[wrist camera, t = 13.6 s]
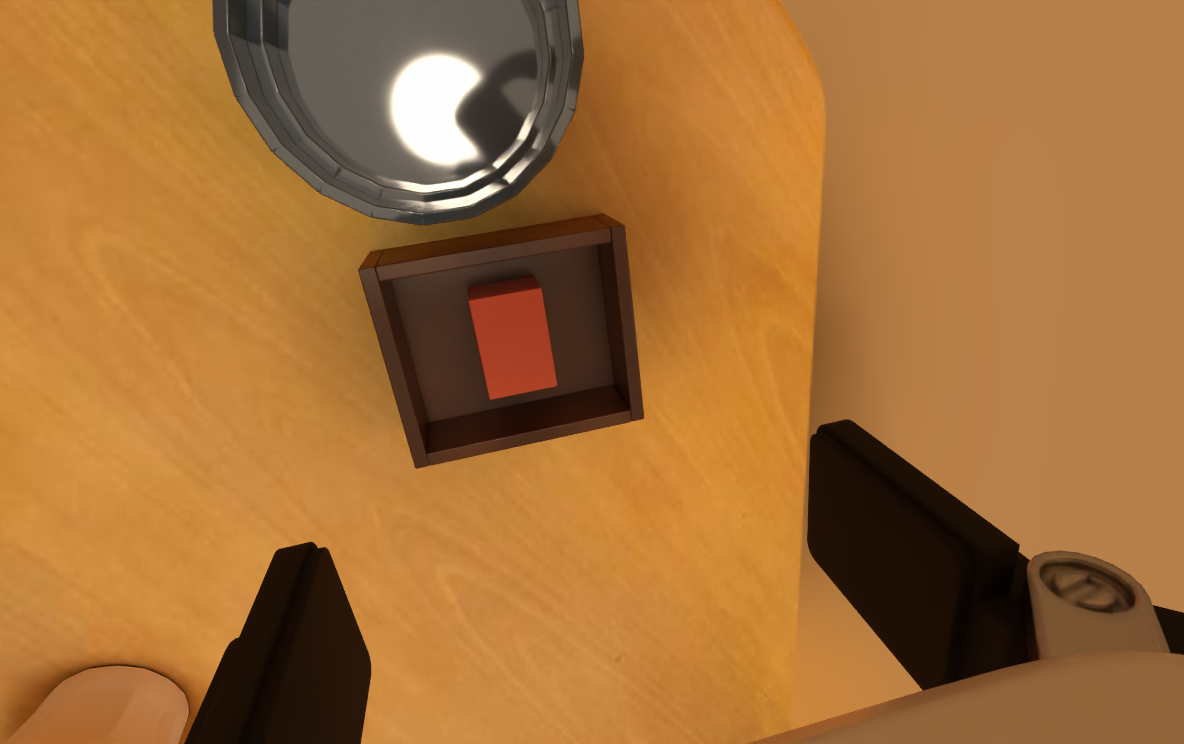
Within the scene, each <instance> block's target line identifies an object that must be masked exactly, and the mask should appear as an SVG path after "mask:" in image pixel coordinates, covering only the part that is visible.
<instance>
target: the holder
mask: <svg viewBox="0 0 1184 744" xmlns="http://www.w3.org/2000/svg"><path fill="white" fill-rule="evenodd" d="M358 271H359V275H360V278H361V282H362V285H363V289H364V292H365V296H366V299H367V303H368V306H369V309H370V313H371V316H372V320H373V323H374V327H375V330H376V334H377V337H378V341H379V344H380V348H381V351H382V354H383V358H384V361H385V365H386V368H387V372H388V375H389V379H390V382H391V386H392V389H393V393H394V396H395V399H396V403H397V406H398V410H399V413H400V417H401V420H402V424H403V427H404V431H405V434H406V438H407V441H408V444H409V448H410V451H411V455H412V458H413V462H414V465H415V468H416V469H417V468H421V467H426V466H429V465H435V464H440V463H444V462H449V461H454V460H458V459H463V458H467V457H472V456H476V455H481V454H486V453H490V452H495V451H499V450H504V449H509V448H513V447H518V446H522V445H527V444H532V443H536V442H541V441H545V440H550V439H554V438H559V437H564V436H568V435H573V434H577V433H582V432H587V431H591V430H596V429H600V428H605V427H610V426H614V425H619V424H623V423H628V422H631V421H636V420H641V419H644V411H643V401H642V391H641V381H640V371H639V361H638V351H637V341H636V331H635V321H634V311H633V301H632V292H631V282H630V272H629V262H628V252H627V242H626V232H625V225H623V224H621V223H620V222H618V221H616V220H614V219H613V218H611V217H609V216H607V215H606V214H599V215H593V216H587V217H581V218H575V219H569V220H563V221H557V222H550V223H544V224H538V225H532V226H526V227H520V228H514V229H508V230H501V231H495V232H489V233H483V234H477V235H471V236H465V237H459V238H452V239H446V240H440V241H434V242H428V243H422V244H416V245H410V246H403V247H397V248H391V249H385V250H379V251H373V252H370V253H369V254H368V256H367V257H366V259H365V260H364V262H363V263H362V265H361V266H360V268H359V269H358ZM529 276H535V278H536V280H537V281H538V283H539V285H540V287H541V289H542V295H543V301H544V307H545V313H546V319H547V325H548V331H549V337H550V344H551V350H552V356H553V362H554V368H555V374H556V380H557V386H555V387H550V388H545V389H540V390H536V391H531V392H526V393H521V394H516V395H511V396H506V397H501V398H497V399H492V400H490V399H489V395H488V390H487V386H486V381H485V376H484V372H483V367H482V363H481V358H480V353H479V349H478V344H477V340H476V335H475V330H474V326H473V321H472V317H471V312H470V307H469V303H468V293H467V288H468V287H473V286H478V285H484V284H490V283H495V282H501V281H507V280H512V279H518V278H524V277H529Z"/></svg>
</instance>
